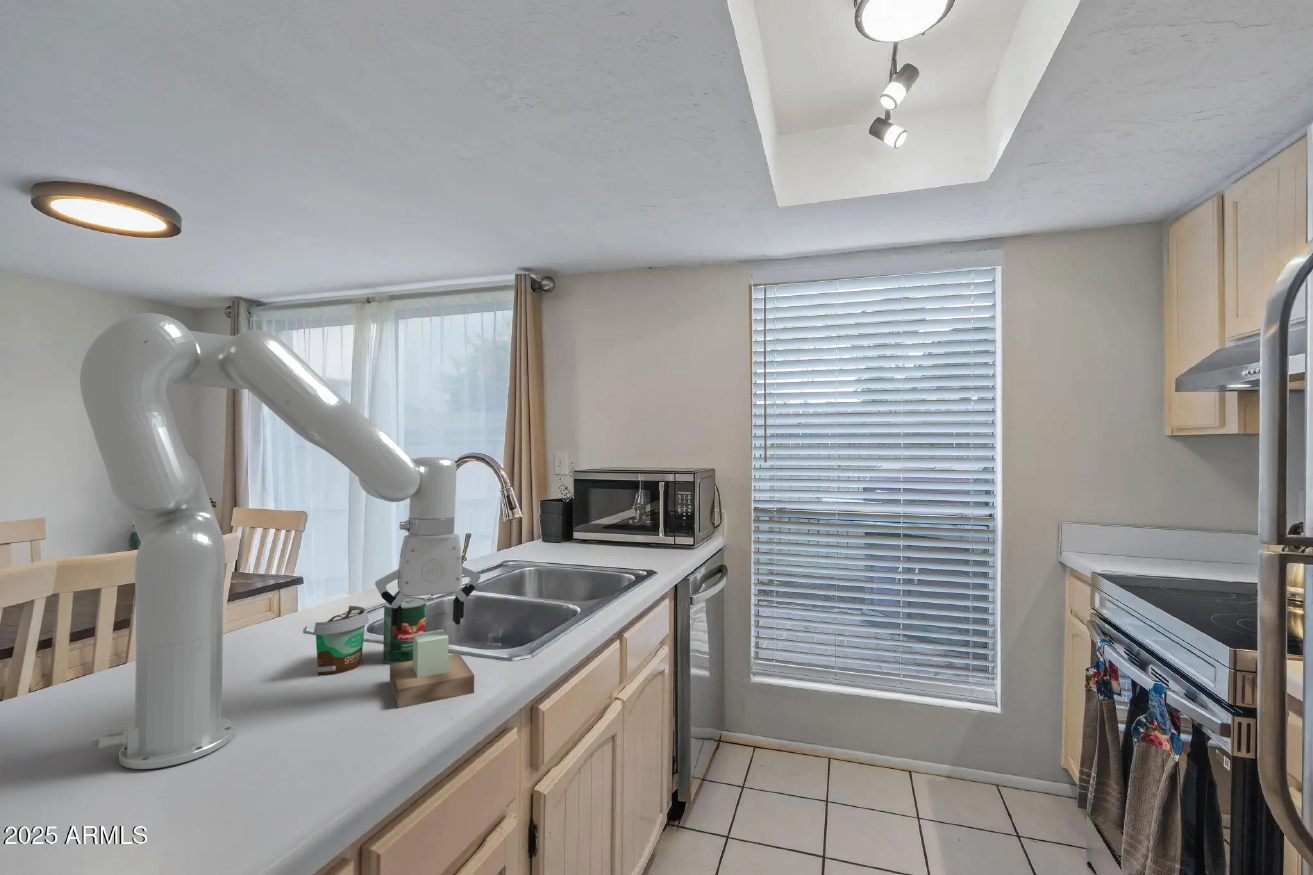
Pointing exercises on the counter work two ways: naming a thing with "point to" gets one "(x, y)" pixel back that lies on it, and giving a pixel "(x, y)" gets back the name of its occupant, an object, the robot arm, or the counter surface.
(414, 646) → the sage block
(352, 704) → the counter surface
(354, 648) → the food container
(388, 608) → the canned tomato
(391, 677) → the walnut base
